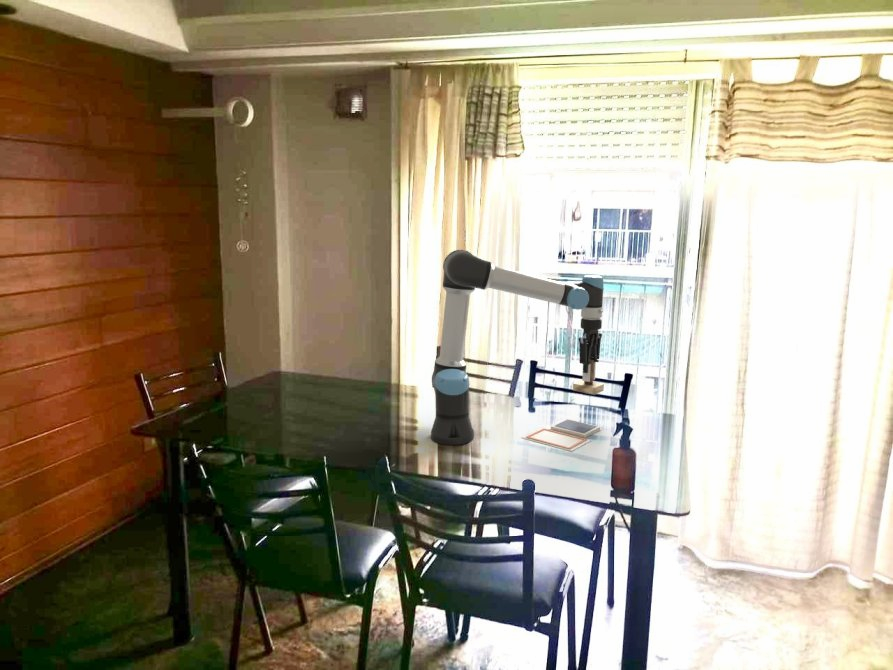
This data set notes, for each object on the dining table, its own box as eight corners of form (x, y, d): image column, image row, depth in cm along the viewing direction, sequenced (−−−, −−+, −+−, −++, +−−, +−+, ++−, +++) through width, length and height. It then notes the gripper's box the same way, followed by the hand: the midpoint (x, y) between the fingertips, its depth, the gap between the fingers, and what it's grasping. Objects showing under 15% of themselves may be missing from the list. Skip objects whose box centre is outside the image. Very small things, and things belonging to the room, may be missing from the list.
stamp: (572, 390, 248) (574, 360, 245) (582, 386, 253) (583, 356, 251) (594, 394, 242) (595, 363, 240) (603, 390, 247) (605, 360, 245)
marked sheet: (521, 437, 231) (521, 436, 231) (542, 428, 241) (542, 426, 241) (571, 451, 218) (571, 450, 218) (591, 440, 228) (591, 439, 228)
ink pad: (550, 429, 240) (550, 425, 239) (566, 421, 248) (566, 418, 248) (584, 438, 231) (585, 434, 230) (600, 429, 239) (600, 426, 239)
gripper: (589, 322, 234) (586, 386, 238) (611, 316, 246) (608, 377, 250) (570, 319, 238) (568, 382, 243) (593, 314, 250) (590, 374, 255)
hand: (588, 379), depth 247 cm, fingers closed on stamp, 3 cm apart
